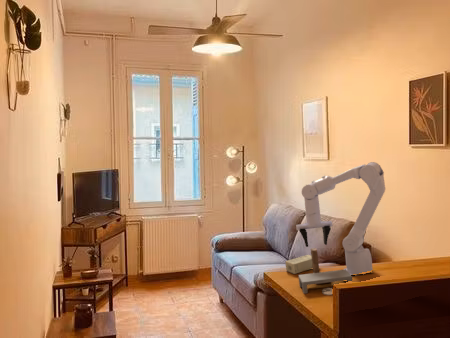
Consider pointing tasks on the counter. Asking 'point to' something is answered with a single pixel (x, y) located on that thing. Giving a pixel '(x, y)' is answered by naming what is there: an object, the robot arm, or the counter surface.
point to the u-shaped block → (323, 278)
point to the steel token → (327, 291)
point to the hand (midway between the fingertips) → (316, 245)
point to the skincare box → (299, 264)
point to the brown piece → (315, 260)
